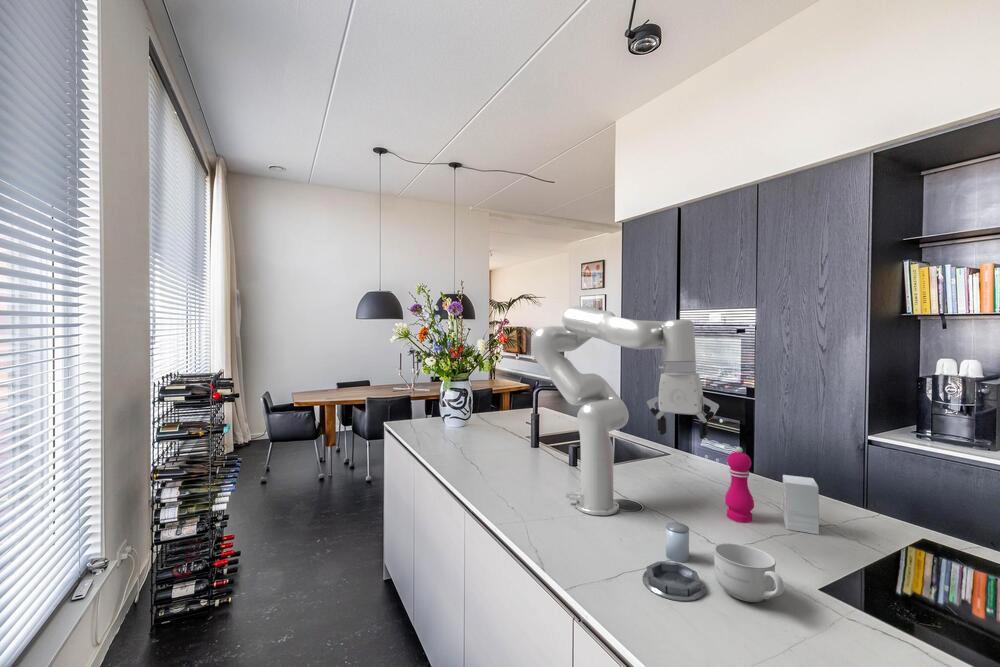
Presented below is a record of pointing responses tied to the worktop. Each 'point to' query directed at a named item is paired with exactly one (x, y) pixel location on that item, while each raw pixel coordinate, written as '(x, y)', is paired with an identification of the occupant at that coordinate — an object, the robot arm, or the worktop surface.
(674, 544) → the grey domed cylinder
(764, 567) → the teacup
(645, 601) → the worktop surface
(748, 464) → the pepper mill
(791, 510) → the supplement box
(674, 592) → the faceted metallic bowl
